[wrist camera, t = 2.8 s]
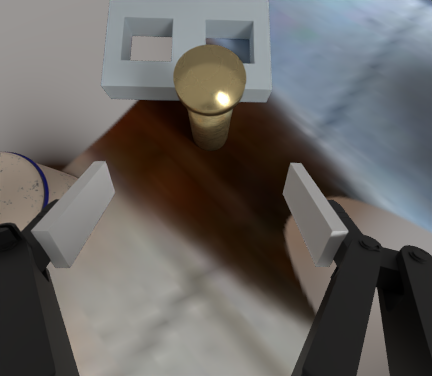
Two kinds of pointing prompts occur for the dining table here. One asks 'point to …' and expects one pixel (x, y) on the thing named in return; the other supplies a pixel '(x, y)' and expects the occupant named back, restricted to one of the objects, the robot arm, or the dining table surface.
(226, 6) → the jig plate
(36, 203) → the teacup with lid
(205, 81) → the brass sleeve
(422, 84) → the dining table surface
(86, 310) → the dining table surface
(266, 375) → the dining table surface
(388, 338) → the robot arm
